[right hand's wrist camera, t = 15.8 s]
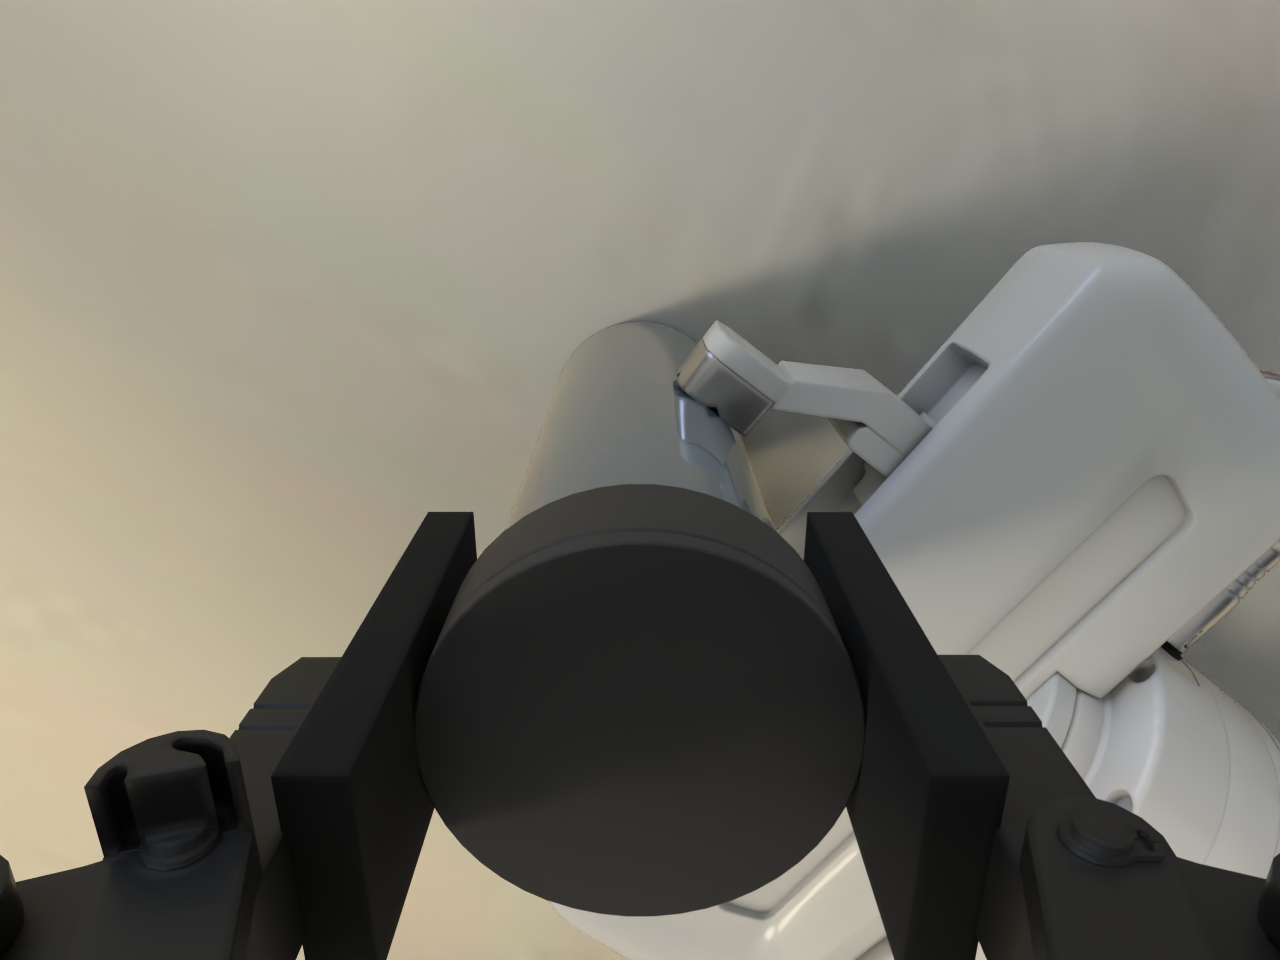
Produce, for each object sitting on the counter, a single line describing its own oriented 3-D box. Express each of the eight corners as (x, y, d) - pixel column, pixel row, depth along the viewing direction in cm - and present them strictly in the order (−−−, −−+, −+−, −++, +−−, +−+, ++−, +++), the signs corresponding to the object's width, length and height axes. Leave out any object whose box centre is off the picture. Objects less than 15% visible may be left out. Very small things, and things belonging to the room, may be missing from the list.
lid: (700, 402, 11) (710, 451, 9) (901, 706, 13) (945, 798, 11) (366, 614, 12) (317, 694, 10) (591, 868, 14) (584, 976, 12)
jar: (728, 474, 26) (833, 850, 12) (568, 490, 26) (484, 878, 12) (716, 312, 24) (824, 527, 10) (545, 330, 25) (415, 566, 10)
